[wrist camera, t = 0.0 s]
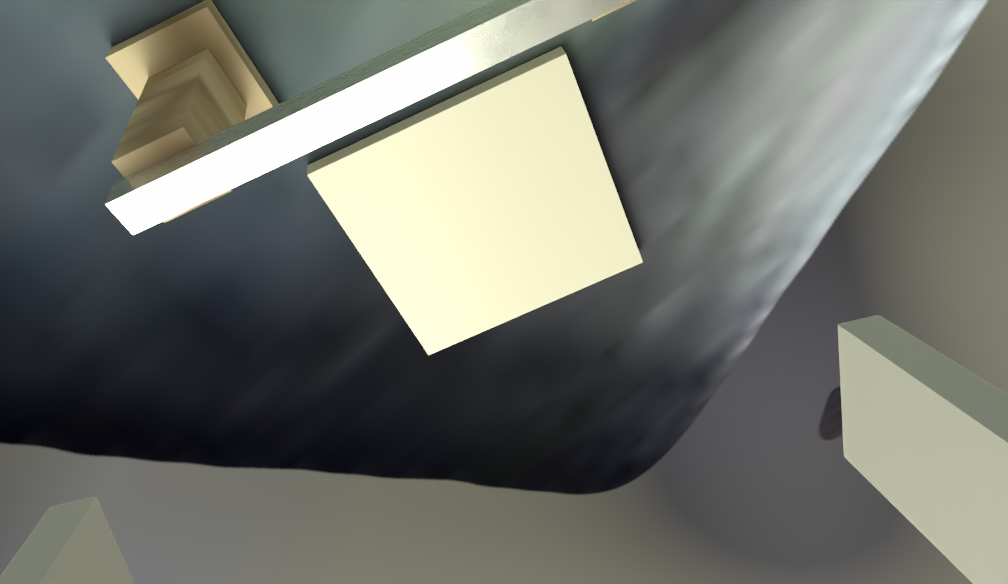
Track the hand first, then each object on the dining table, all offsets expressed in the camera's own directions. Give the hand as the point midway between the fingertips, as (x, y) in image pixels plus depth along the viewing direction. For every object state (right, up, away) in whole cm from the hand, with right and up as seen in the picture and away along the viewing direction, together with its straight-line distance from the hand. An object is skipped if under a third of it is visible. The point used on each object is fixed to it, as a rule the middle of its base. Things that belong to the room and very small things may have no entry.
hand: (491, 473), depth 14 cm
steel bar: (-4, +11, +15) cm, 19 cm away
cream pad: (-1, +8, +30) cm, 31 cm away
